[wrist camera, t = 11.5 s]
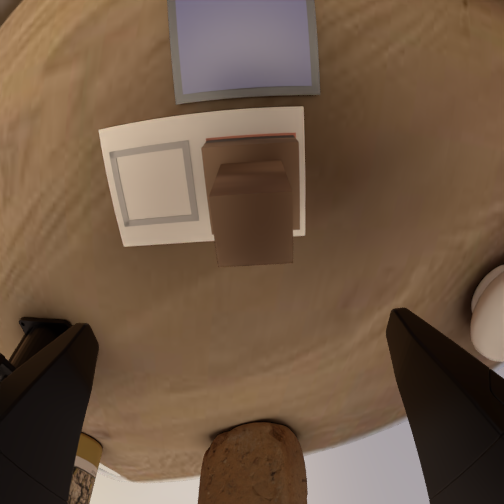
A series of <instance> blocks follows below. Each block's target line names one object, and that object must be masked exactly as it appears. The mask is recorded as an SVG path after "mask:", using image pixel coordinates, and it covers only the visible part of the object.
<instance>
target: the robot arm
mask: <svg viewBox="0 0 504 504" xmlns="http://www.w3.org/2000/svg"><path fill="white" fill-rule="evenodd" d="M19 324H20V326H21V327H22V329H23V331H24V333H25V335H24V337H23V338H22V340H21V341H20V343H19V344H18V346H17V348H16V349H15V351H14V352H13V354H12V356H11V357H10V359H9V361H8V360H7V359H6V358H5V356H4V355H2V354H1V353H0V504H68V498H69V492H70V486H71V480H72V474H73V469H74V464H75V458H76V454H77V449H78V444H79V439H80V435H81V431H82V426H83V422H84V418H85V414H86V410H87V406H88V402H89V398H90V394H91V390H92V385H93V379H94V373H95V367H96V361H97V356H98V351H99V345H98V341H97V339H96V337H95V335H94V333H93V331H92V329H91V327H90V325H89V324H87V323H76V324H75V325H73V326H72V327H71V325H70V323H69V322H67V321H65V320H50V319H34V318H21V319H20V321H19ZM386 338H387V342H388V346H389V351H390V355H391V360H392V364H393V369H394V374H395V378H396V382H397V385H398V388H399V391H400V395H401V398H402V401H403V404H404V407H405V410H406V414H407V417H408V420H409V424H410V427H411V430H412V434H413V437H414V441H415V444H416V448H417V451H418V455H419V459H420V463H421V467H422V471H423V475H424V479H425V483H426V487H427V492H428V496H429V499H430V500H429V501H430V504H504V379H503V378H502V377H501V376H499V375H498V374H497V373H495V372H494V371H493V370H492V369H489V367H487V366H486V365H485V364H483V363H482V362H481V361H479V360H478V359H477V358H475V357H474V356H473V355H471V354H470V353H468V352H467V351H466V350H464V349H463V348H462V347H460V346H459V345H458V344H456V343H455V342H453V341H452V340H451V339H449V338H448V337H446V336H445V335H444V334H442V333H441V332H439V331H438V330H437V329H435V328H434V327H432V326H431V325H430V324H428V323H427V322H425V321H424V320H423V319H421V318H420V317H418V316H417V315H415V314H414V313H413V312H411V311H410V310H408V309H407V308H396V309H393V310H392V311H391V313H390V317H389V321H388V325H387V329H386Z"/></svg>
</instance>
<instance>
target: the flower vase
mask: <svg viewBox="0 0 504 504" xmlns="http://www.w3.org/2000/svg"><path fill="white" fill-rule="evenodd" d="M471 310H472V313H473V314H472V317H471V324H470V337H471V341H472V343H473V346H474V348H475V349H476V350H477V351H478V352H479V353H480V354H482V355H483V356H484V357H485V358H487V359H489V360H493V361H499V362H504V265H500V266H498V267H496V268H495V269H493V270H492V271H491V272H489V273H488V274H487V275H486V276H485V277H484V278H483V279H482V281H481V282H480V284H479V285H478V287H477V288H476V290H475V292H474V295H473V298H472V302H471Z"/></svg>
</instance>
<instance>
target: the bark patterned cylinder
mask: <svg viewBox="0 0 504 504" xmlns="http://www.w3.org/2000/svg"><path fill="white" fill-rule="evenodd" d="M101 455H102V447H101V445H100V444H99V443H98V442H97V441H96V440H94V439H93V438H91V437H89V436H87V435H85V434H83V433H81V435H80V439H79V444H78V449H77V454H76V458H75V464H74V469H73V474H72V480H71V486H70V492H69V498H68V504H89V502H90V498H91V494H92V490H93V486H94V482H95V478H96V474H97V470H98V466H99V462H100V459H101Z"/></svg>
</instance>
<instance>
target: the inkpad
mask: <svg viewBox="0 0 504 504" xmlns="http://www.w3.org/2000/svg"><path fill="white" fill-rule="evenodd" d="M167 5H168V21H169V35H170V47H171V59H172V70H173V81H174V91H175V100H176V104H183V103H191V102H199V101H208V100H217V99H228V98H240V97H256V96H277V95H320V75H319V56H318V40H317V26H316V13H315V2H314V0H167Z"/></svg>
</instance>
